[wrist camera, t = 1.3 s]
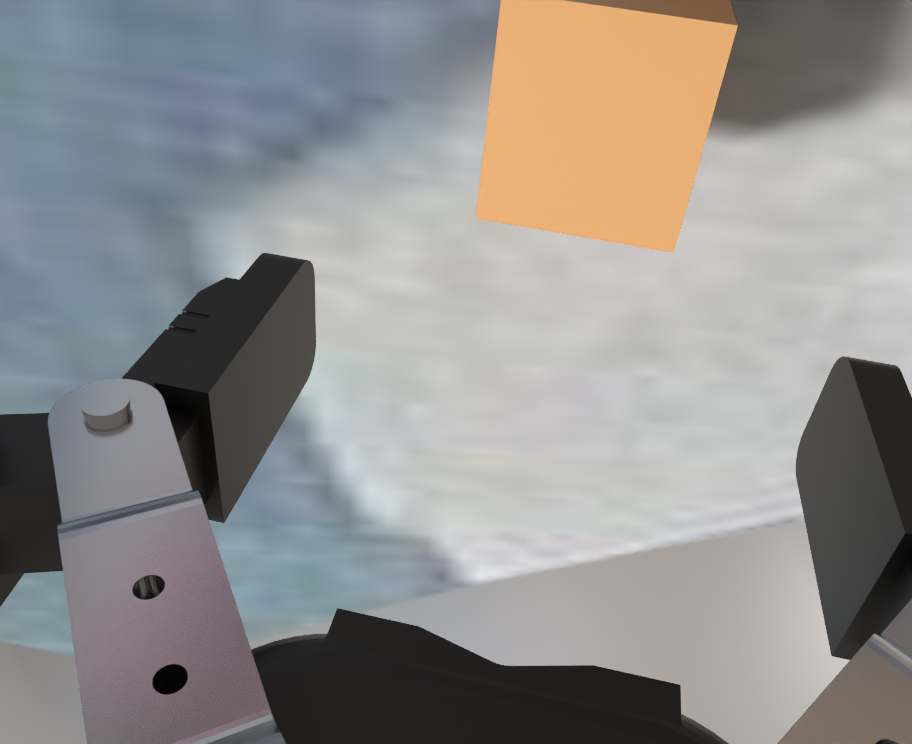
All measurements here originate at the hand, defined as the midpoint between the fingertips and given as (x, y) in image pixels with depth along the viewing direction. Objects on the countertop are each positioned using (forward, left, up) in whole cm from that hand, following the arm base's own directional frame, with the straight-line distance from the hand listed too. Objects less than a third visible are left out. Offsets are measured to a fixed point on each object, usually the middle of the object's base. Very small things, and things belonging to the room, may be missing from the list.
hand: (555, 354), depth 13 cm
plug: (0, 0, -18) cm, 18 cm away
